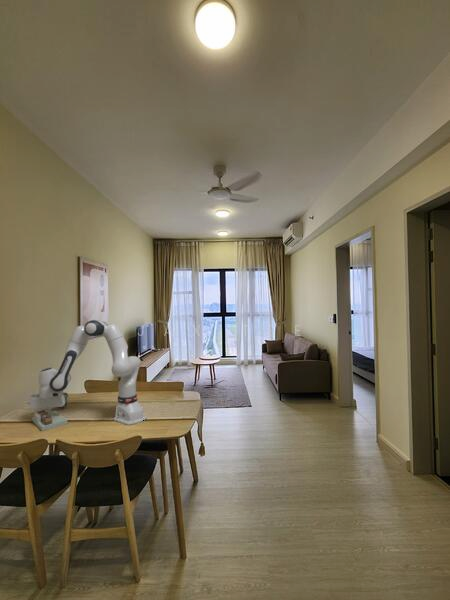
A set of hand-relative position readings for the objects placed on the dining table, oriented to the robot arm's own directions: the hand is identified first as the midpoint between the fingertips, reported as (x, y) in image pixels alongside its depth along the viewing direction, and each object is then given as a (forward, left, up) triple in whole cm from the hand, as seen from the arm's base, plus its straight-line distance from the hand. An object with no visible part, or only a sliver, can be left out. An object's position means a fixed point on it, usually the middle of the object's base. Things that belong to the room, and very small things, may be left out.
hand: (47, 414), depth 186 cm
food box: (-3, 0, -4) cm, 5 cm away
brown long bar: (-5, +3, -1) cm, 6 cm away
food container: (+20, -14, -4) cm, 25 cm away
